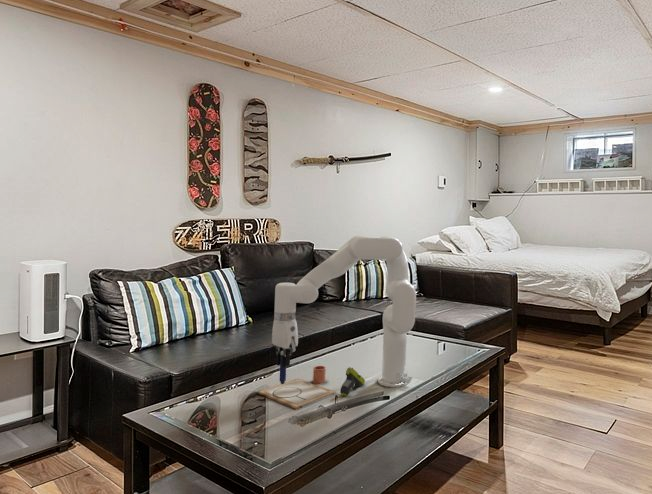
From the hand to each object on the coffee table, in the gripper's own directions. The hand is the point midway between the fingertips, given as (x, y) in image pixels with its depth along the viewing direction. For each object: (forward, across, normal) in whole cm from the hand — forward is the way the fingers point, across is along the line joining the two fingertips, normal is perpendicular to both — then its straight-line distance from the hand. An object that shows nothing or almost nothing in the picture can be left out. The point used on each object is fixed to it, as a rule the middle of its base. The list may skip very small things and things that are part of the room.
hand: (283, 364), depth 184 cm
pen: (+7, 0, 0) cm, 7 cm away
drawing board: (+11, -4, -4) cm, 12 cm away
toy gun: (+11, -18, -19) cm, 28 cm away
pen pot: (+11, 0, -17) cm, 20 cm away
